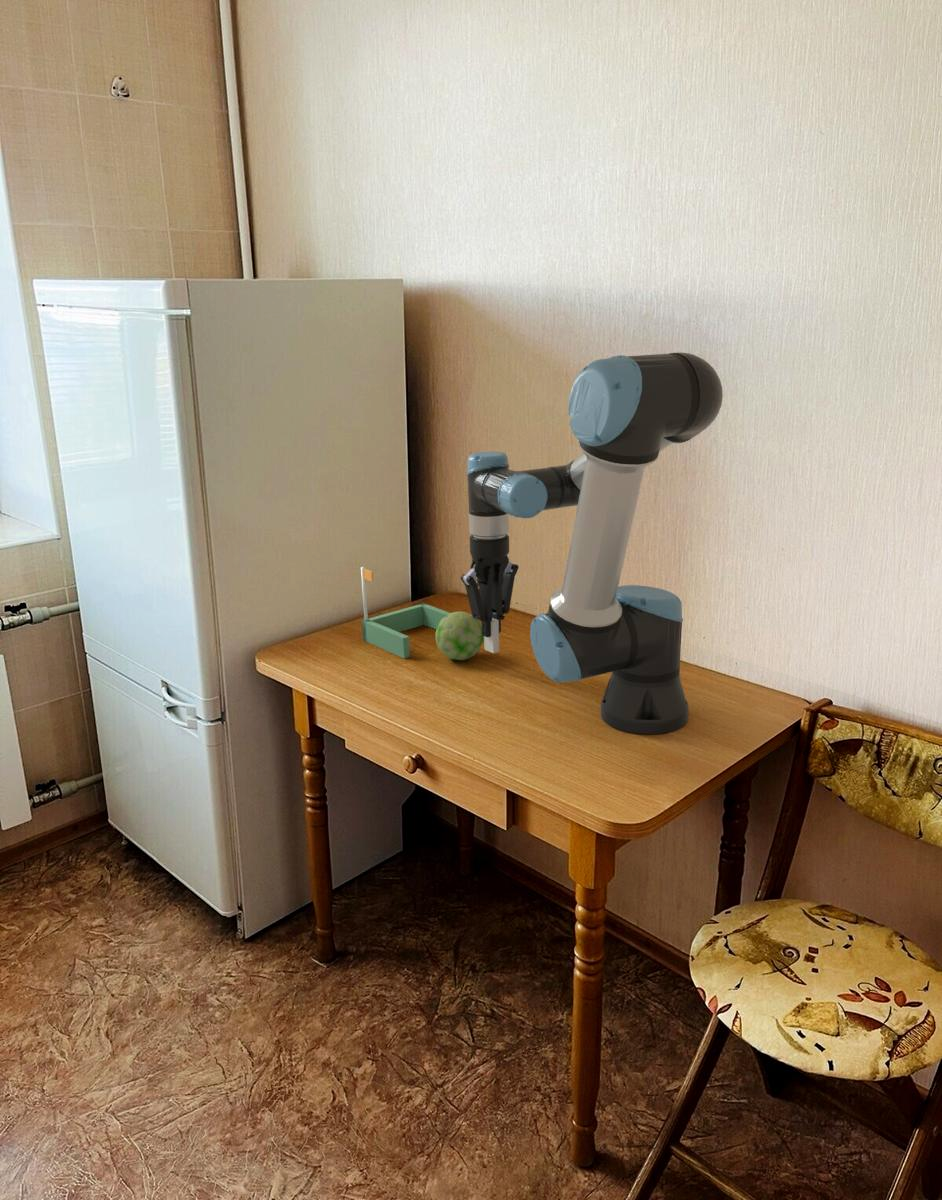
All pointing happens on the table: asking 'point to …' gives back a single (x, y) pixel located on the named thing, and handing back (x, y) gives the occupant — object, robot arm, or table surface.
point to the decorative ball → (459, 636)
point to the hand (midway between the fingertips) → (491, 650)
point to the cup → (396, 623)
